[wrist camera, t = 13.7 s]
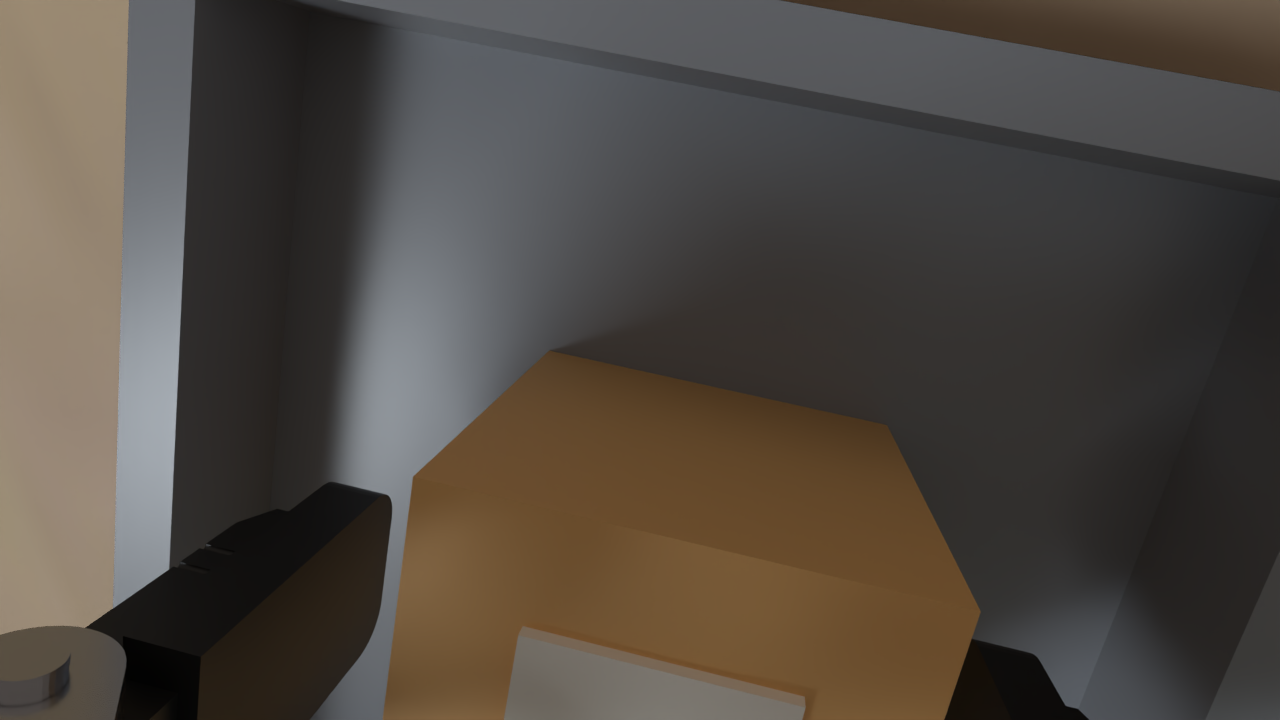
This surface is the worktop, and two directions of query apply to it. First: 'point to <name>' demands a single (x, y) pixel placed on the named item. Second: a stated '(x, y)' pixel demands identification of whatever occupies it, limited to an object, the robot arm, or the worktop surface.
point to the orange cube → (671, 562)
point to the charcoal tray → (724, 288)
